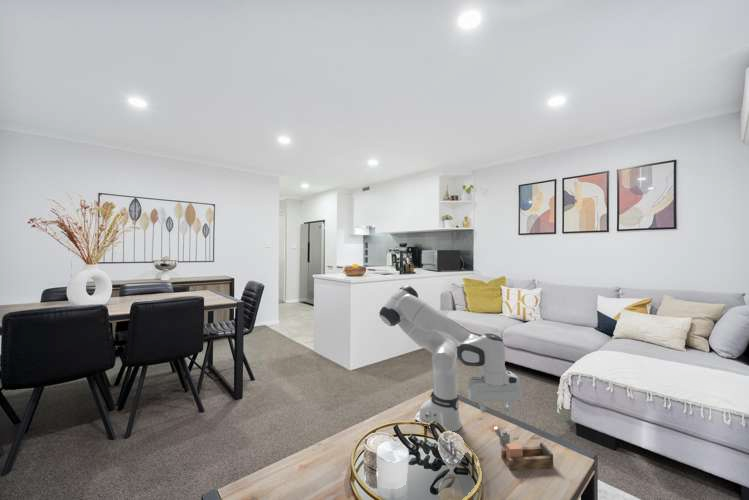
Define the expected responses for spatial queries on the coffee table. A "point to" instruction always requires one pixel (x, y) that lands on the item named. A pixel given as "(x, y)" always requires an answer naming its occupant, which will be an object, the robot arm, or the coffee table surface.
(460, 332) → the robot arm
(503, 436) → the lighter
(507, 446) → the block
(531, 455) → the brown wooden open box
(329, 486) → the coffee table surface
